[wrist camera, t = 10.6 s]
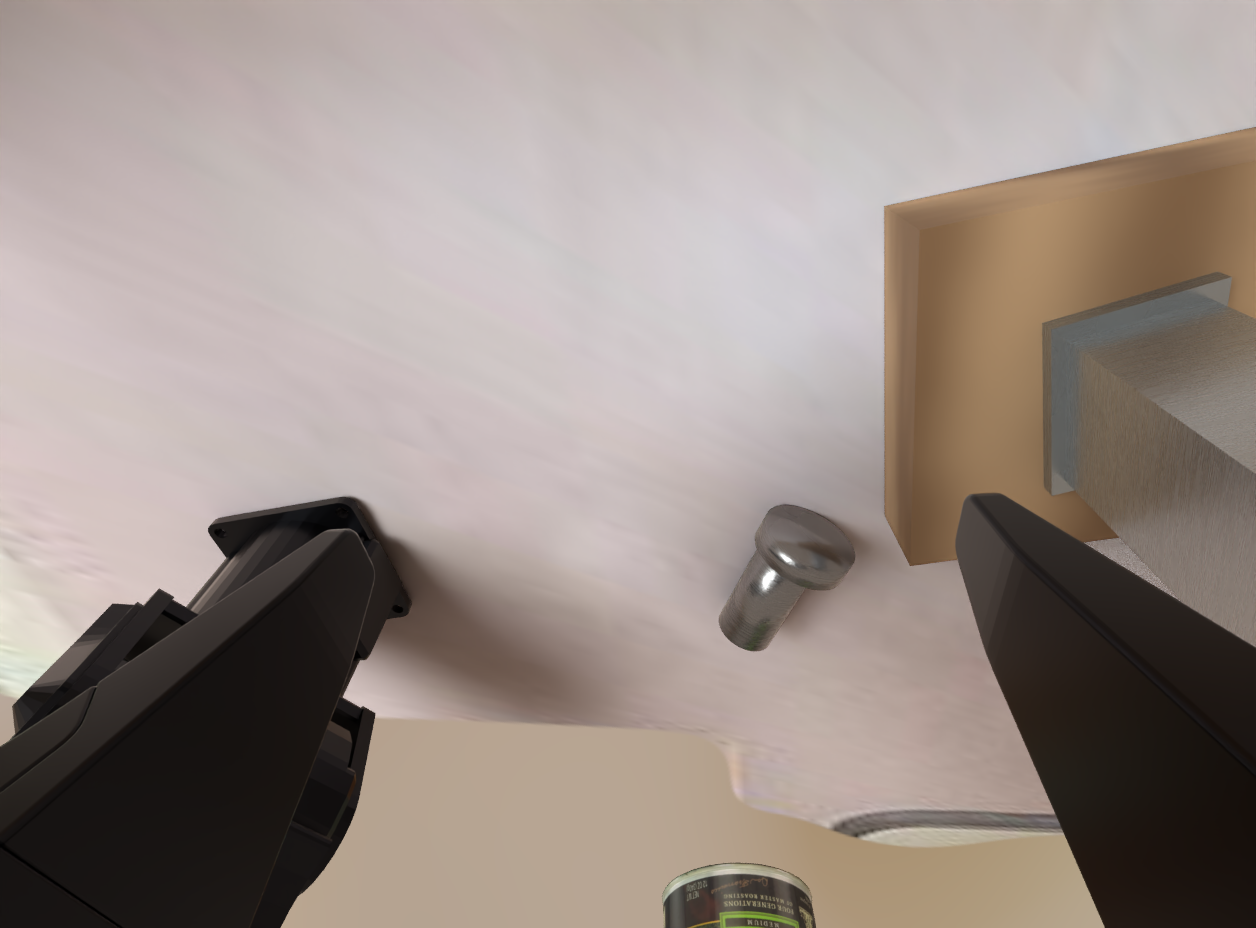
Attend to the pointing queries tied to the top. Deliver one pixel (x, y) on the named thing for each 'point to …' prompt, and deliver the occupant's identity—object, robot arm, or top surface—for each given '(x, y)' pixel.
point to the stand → (1033, 313)
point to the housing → (1163, 436)
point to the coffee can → (737, 898)
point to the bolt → (784, 573)
